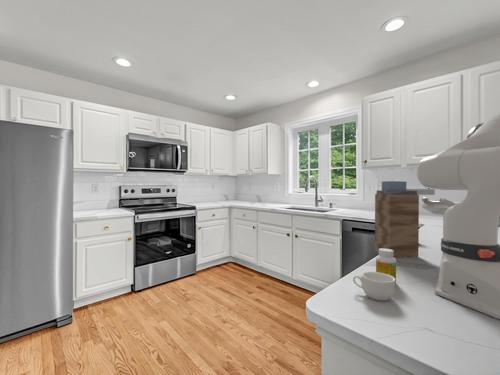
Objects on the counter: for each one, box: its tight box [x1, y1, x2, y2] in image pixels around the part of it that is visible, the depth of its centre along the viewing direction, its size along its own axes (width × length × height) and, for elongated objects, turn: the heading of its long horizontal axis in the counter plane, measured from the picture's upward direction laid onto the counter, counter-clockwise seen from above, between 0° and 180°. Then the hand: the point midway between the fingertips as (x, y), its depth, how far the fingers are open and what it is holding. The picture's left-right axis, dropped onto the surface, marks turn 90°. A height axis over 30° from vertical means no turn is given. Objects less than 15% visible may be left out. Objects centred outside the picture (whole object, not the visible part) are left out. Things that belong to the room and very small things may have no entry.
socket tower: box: [374, 190, 420, 258], centre depth 108 cm, size 10×14×28 cm
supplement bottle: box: [375, 248, 397, 285], centre depth 75 cm, size 5×5×10 cm
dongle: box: [381, 180, 436, 196], centre depth 109 cm, size 5×22×6 cm, turn 97°
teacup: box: [352, 271, 396, 302], centre depth 65 cm, size 10×8×5 cm
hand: (431, 199), depth 110 cm, fingers open, 8 cm apart
